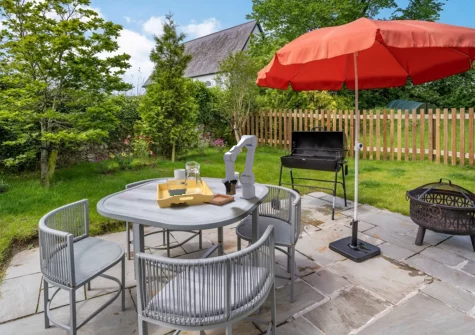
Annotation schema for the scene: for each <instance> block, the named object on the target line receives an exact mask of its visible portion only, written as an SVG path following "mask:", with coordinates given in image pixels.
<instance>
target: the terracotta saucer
mask: <svg viewBox="0 0 475 335" xmlns="http://www.w3.org/2000/svg"><path fill="white" fill-rule="evenodd" d="M213 195H214V198H213V200H212V199H211V200H210V202H209V203H208V204H211V205H216V206H222V205H225V204H228V203H231V202H233V201H235V195H232V196H231V195H226V194H224V193H223V194H222V193H216V194H213Z"/></svg>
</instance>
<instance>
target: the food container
mask: <svg viewBox="0 0 475 335" xmlns="http://www.w3.org/2000/svg"><path fill="white" fill-rule="evenodd" d="M167 192H168V193H169V197H170V196H174V195H182V194H186V192H187V187H185V188H175V189H170V188H169V189H168V191H167ZM186 195H187V194H186Z"/></svg>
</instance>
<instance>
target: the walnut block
mask: <svg viewBox="0 0 475 335" xmlns="http://www.w3.org/2000/svg"><path fill="white" fill-rule="evenodd" d="M236 187H237V185H236V186H235V184H233V183H231V186H230V193H228V192H227V190H226V189H225V195H229V196H235V195H236V194H237V192H236Z"/></svg>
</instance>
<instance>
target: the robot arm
mask: <svg viewBox="0 0 475 335" xmlns="http://www.w3.org/2000/svg"><path fill="white" fill-rule="evenodd" d="M257 145H258V137H257V136H256V135H255V134H253V135H252V134H251V135H248V134H247V135H246V134H243V135H242V136H241V137H240V141H239V142H238V143H237V145H233V146H232V147H231V148H230V150H229V151H228V152H225V153H224V154H223V158H222V159H223V161H224V165H225V178H223V179H221V183H222V184H223V185H224V187H225V191H226V190H227V192H228V193H230V186H231V183H233V184H235V186H236V187H237V183H238V181H239V183H240V185H241V190H242V192H241V193H242V195H241V196H239V198H240V199H246V200H251V199H253V198H256V197H257V195H256V187H255V181H256V177H255V176H256V175H255V174H254V172H253V166H254V160H255V153H256V152H255V151H256V148H257ZM244 147H245V148H246V149H247V153H246V158H245V166H244V171H243V172H241V174H240V177H239V175H235V173H236V172H235V161H236V160H237V157H238V156H239V154H240V153H241V150H242V148H244ZM238 179H239V180H238Z"/></svg>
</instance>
